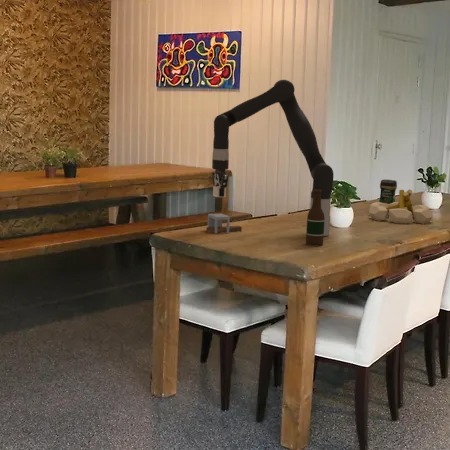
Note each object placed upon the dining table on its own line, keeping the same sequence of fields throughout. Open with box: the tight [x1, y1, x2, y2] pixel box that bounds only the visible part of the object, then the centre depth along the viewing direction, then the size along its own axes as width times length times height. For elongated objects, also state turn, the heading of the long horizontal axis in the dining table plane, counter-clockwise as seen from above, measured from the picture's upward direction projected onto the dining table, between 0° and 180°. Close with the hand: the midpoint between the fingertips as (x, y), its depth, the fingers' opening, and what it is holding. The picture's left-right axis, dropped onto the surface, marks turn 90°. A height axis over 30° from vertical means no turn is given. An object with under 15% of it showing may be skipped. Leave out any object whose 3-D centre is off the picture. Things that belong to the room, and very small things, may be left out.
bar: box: [205, 225, 242, 234], centre depth 318 cm, size 3×17×3 cm, turn 116°
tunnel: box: [207, 212, 231, 234], centre depth 317 cm, size 10×7×8 cm
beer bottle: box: [305, 189, 325, 247], centre depth 294 cm, size 8×8×24 cm
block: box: [212, 185, 227, 198], centre depth 314 cm, size 4×4×4 cm
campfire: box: [368, 189, 434, 224], centre depth 373 cm, size 35×34×17 cm
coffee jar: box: [378, 179, 398, 204], centre depth 402 cm, size 10×8×19 cm
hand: (219, 195), depth 315 cm, fingers closed on block, 4 cm apart
